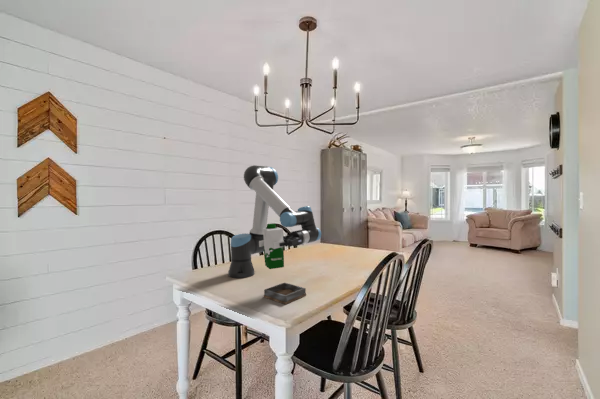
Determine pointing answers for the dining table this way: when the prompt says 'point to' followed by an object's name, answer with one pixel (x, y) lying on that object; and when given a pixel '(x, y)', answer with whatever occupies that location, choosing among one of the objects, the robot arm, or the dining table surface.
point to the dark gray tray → (285, 293)
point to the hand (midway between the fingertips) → (266, 244)
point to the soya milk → (272, 256)
